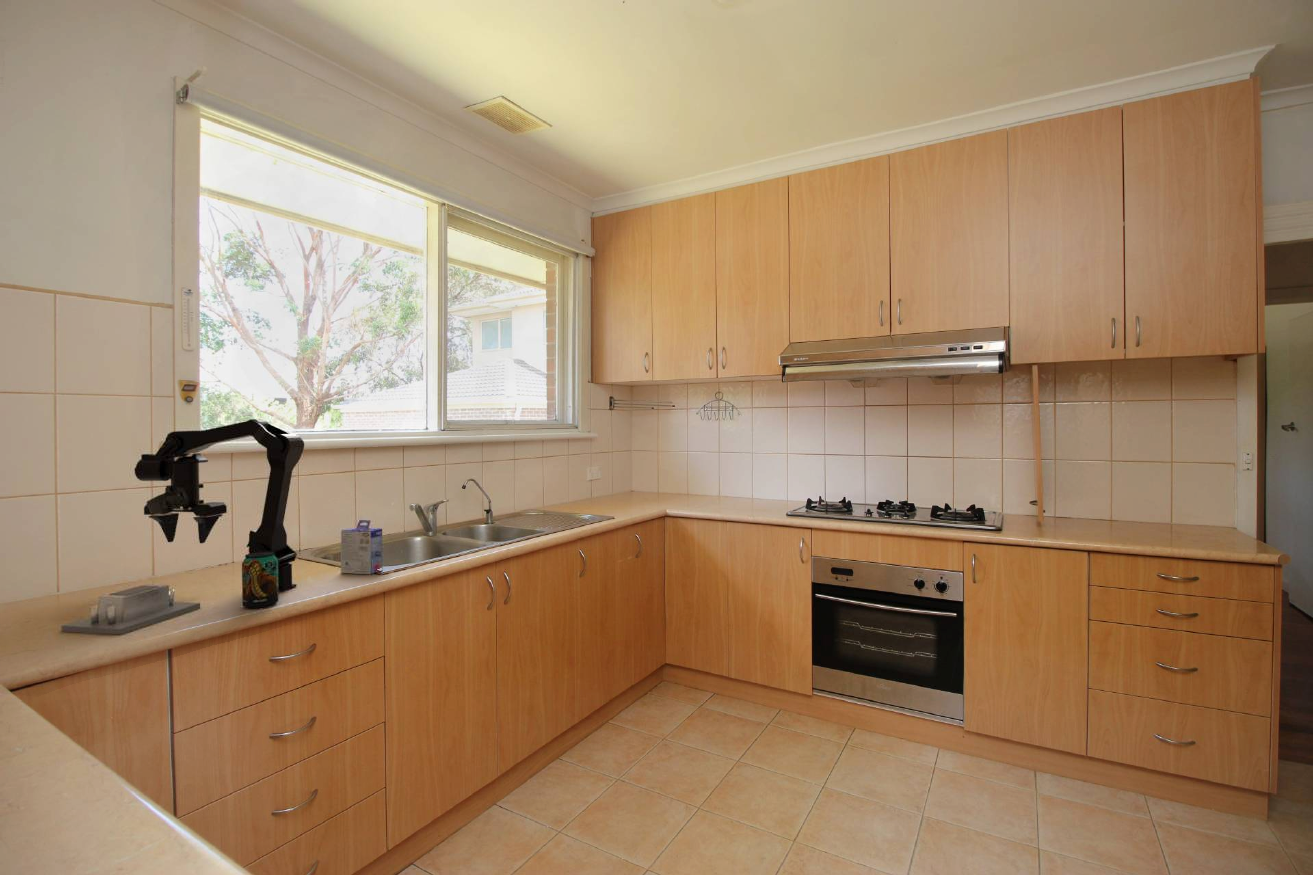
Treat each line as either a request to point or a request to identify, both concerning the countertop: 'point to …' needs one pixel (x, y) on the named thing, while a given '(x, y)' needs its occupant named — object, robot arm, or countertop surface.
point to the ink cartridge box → (361, 549)
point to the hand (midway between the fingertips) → (186, 542)
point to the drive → (135, 602)
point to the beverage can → (259, 580)
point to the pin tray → (119, 627)
